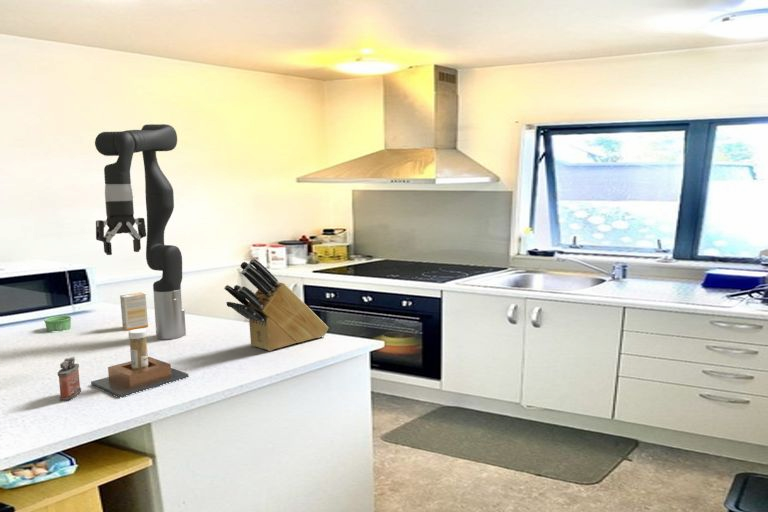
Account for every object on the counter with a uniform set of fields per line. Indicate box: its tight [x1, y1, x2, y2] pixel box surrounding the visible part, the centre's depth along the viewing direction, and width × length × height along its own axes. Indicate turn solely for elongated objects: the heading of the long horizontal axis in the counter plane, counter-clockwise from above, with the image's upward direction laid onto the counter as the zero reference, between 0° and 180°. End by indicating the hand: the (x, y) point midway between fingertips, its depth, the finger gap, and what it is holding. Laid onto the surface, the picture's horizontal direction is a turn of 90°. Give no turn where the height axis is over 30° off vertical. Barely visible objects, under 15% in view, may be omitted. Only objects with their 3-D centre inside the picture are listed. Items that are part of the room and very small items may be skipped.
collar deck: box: [90, 356, 189, 399], centre depth 161 cm, size 20×16×4 cm
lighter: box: [57, 356, 82, 402], centre depth 150 cm, size 8×3×10 cm, turn 5°
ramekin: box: [44, 315, 72, 332], centre depth 221 cm, size 9×9×4 cm
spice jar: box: [128, 328, 149, 371], centre depth 161 cm, size 5×5×14 cm
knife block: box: [223, 257, 329, 352], centre depth 195 cm, size 11×35×31 cm, turn 136°
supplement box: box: [119, 292, 149, 331], centre depth 221 cm, size 8×5×13 cm, turn 132°
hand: (123, 253), depth 174 cm, fingers open, 8 cm apart
